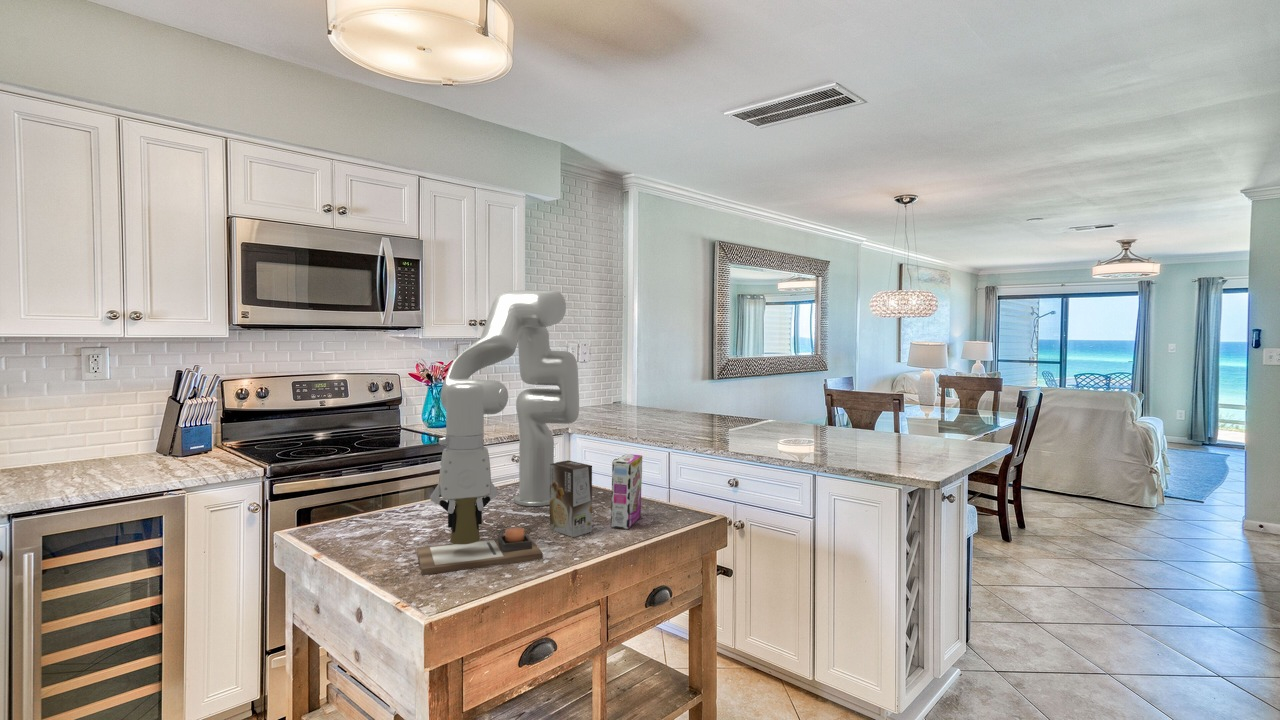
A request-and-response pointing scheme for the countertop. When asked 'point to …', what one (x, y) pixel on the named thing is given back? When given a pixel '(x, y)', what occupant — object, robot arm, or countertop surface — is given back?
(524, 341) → the robot arm
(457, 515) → the olive pawn
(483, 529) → the countertop surface
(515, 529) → the button
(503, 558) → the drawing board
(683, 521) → the countertop surface
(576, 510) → the coffee box
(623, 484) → the candy bar box
